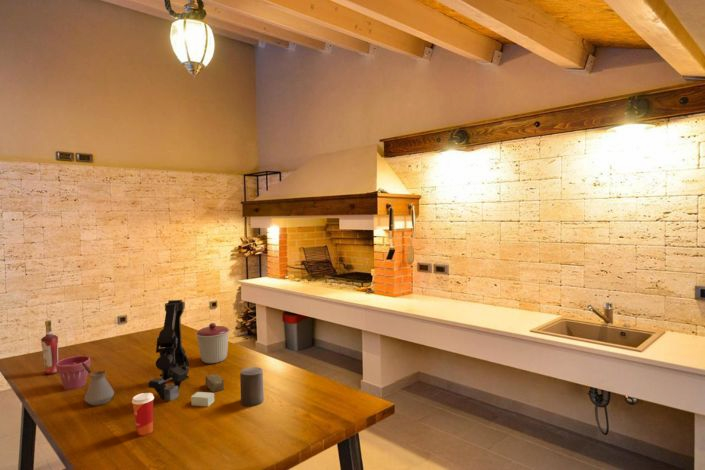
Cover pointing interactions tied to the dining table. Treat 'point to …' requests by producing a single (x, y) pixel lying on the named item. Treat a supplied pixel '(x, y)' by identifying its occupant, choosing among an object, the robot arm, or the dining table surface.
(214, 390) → the stone block
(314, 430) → the dining table surface
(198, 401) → the beige brick
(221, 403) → the dining table surface
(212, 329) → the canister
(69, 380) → the plant pot
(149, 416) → the paper cup
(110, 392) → the coffee pot
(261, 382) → the pillar candle
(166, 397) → the gray cube
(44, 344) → the liquor
